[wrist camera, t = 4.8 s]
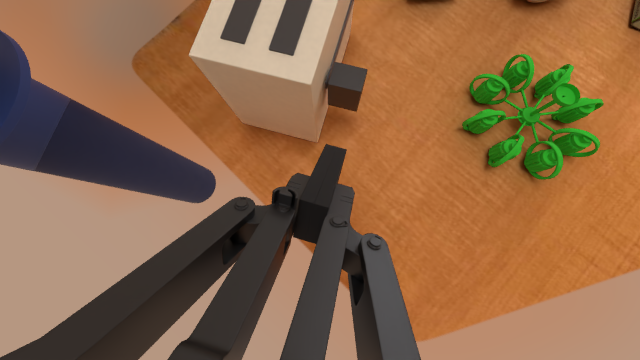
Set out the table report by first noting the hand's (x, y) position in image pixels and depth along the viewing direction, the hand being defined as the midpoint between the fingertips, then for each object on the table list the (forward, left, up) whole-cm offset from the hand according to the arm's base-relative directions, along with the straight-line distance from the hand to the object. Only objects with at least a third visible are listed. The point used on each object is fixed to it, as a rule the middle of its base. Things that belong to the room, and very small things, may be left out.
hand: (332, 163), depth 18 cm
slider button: (-1, +9, -7) cm, 12 cm away
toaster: (-8, +13, -12) cm, 20 cm away
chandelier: (+20, +14, -13) cm, 28 cm away
